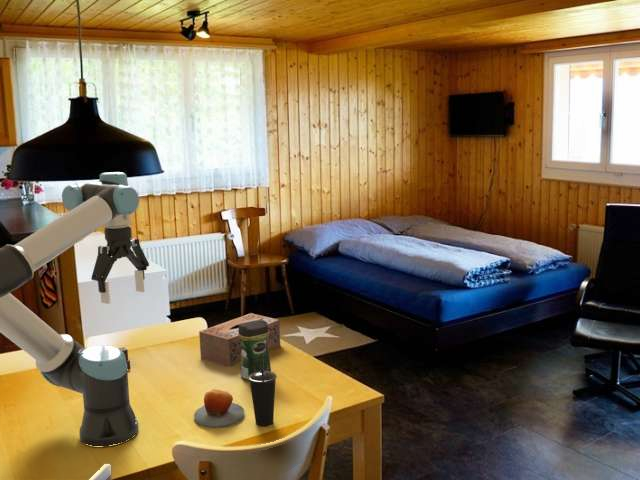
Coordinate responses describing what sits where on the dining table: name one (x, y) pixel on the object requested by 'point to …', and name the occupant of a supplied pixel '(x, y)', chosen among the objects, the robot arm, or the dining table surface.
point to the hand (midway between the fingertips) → (123, 297)
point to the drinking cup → (263, 395)
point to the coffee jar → (253, 347)
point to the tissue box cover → (233, 339)
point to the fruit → (217, 402)
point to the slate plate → (225, 420)
